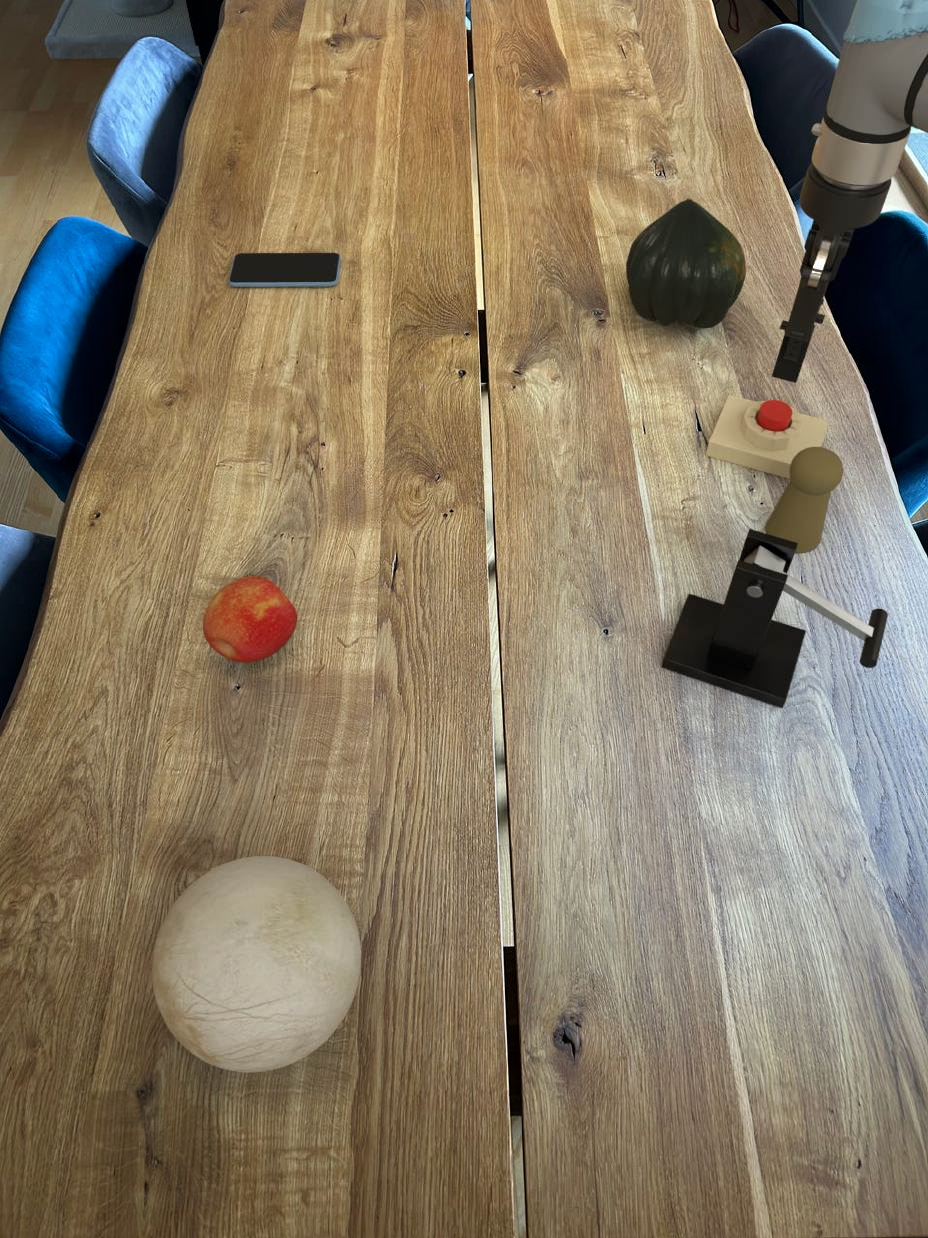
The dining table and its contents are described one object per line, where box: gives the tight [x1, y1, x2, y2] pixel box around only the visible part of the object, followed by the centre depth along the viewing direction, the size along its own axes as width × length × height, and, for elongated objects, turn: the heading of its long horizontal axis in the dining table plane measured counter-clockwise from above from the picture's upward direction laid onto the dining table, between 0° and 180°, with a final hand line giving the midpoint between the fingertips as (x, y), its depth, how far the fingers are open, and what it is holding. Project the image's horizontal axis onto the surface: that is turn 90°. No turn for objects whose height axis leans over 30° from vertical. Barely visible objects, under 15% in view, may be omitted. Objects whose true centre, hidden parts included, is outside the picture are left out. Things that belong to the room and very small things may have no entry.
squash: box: [625, 197, 747, 329], centre depth 130 cm, size 14×15×15 cm
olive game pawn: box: [764, 446, 844, 554], centre depth 106 cm, size 6×6×11 cm
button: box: [757, 399, 792, 432], centre depth 115 cm, size 4×4×2 cm
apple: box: [202, 575, 298, 664], centre depth 98 cm, size 8×8×8 cm
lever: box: [744, 546, 889, 669], centre depth 91 cm, size 14×6×2 cm, turn 66°
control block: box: [705, 394, 830, 480], centre depth 117 cm, size 12×9×4 cm
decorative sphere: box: [151, 855, 363, 1073], centre depth 74 cm, size 15×15×15 cm
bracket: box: [660, 528, 807, 709], centre depth 95 cm, size 12×9×15 cm
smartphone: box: [227, 252, 342, 288], centre depth 140 cm, size 7×1×15 cm
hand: (785, 375), depth 111 cm, fingers closed
